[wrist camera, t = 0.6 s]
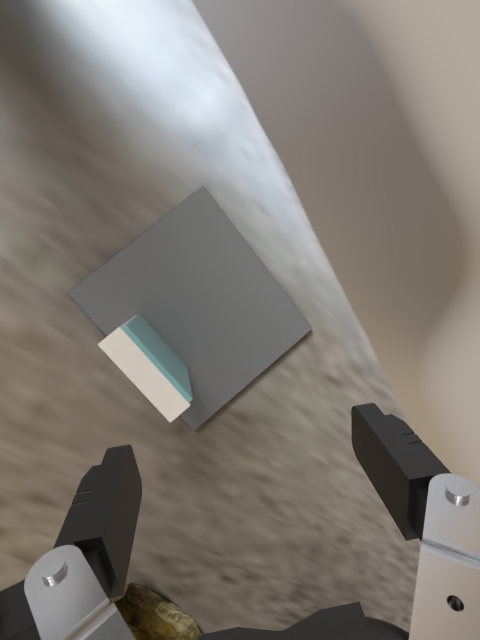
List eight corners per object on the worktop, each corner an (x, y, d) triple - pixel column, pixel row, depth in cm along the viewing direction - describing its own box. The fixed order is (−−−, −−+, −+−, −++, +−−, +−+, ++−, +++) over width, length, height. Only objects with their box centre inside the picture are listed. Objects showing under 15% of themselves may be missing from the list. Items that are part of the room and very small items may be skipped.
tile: (121, 326, 37) (97, 344, 25) (139, 311, 37) (123, 323, 26) (171, 381, 39) (170, 422, 27) (188, 367, 39) (194, 402, 27)
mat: (69, 293, 37) (67, 293, 36) (202, 187, 38) (203, 185, 37) (193, 428, 40) (193, 431, 40) (310, 327, 42) (313, 328, 41)
